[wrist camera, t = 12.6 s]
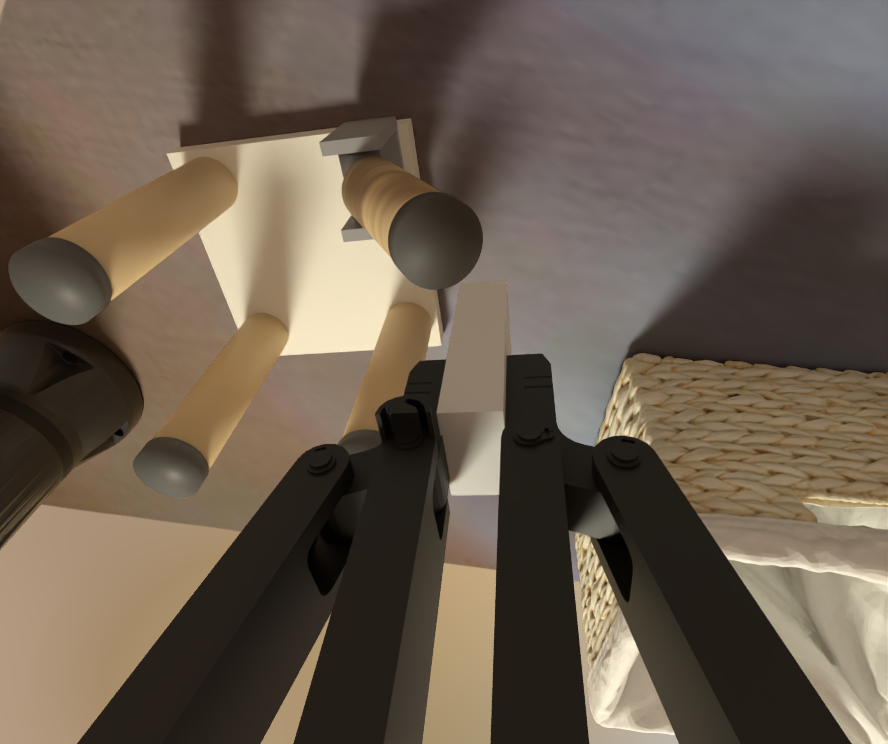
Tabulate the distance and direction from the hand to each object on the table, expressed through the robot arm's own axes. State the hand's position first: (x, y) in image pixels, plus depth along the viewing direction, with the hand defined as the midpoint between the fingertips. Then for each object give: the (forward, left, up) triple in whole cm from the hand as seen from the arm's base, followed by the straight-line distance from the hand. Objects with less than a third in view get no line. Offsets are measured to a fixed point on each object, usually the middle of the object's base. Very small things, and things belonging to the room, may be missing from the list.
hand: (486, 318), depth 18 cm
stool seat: (-15, -7, -25) cm, 30 cm away
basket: (+20, -33, -26) cm, 46 cm away
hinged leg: (-4, 0, -14) cm, 15 cm away
